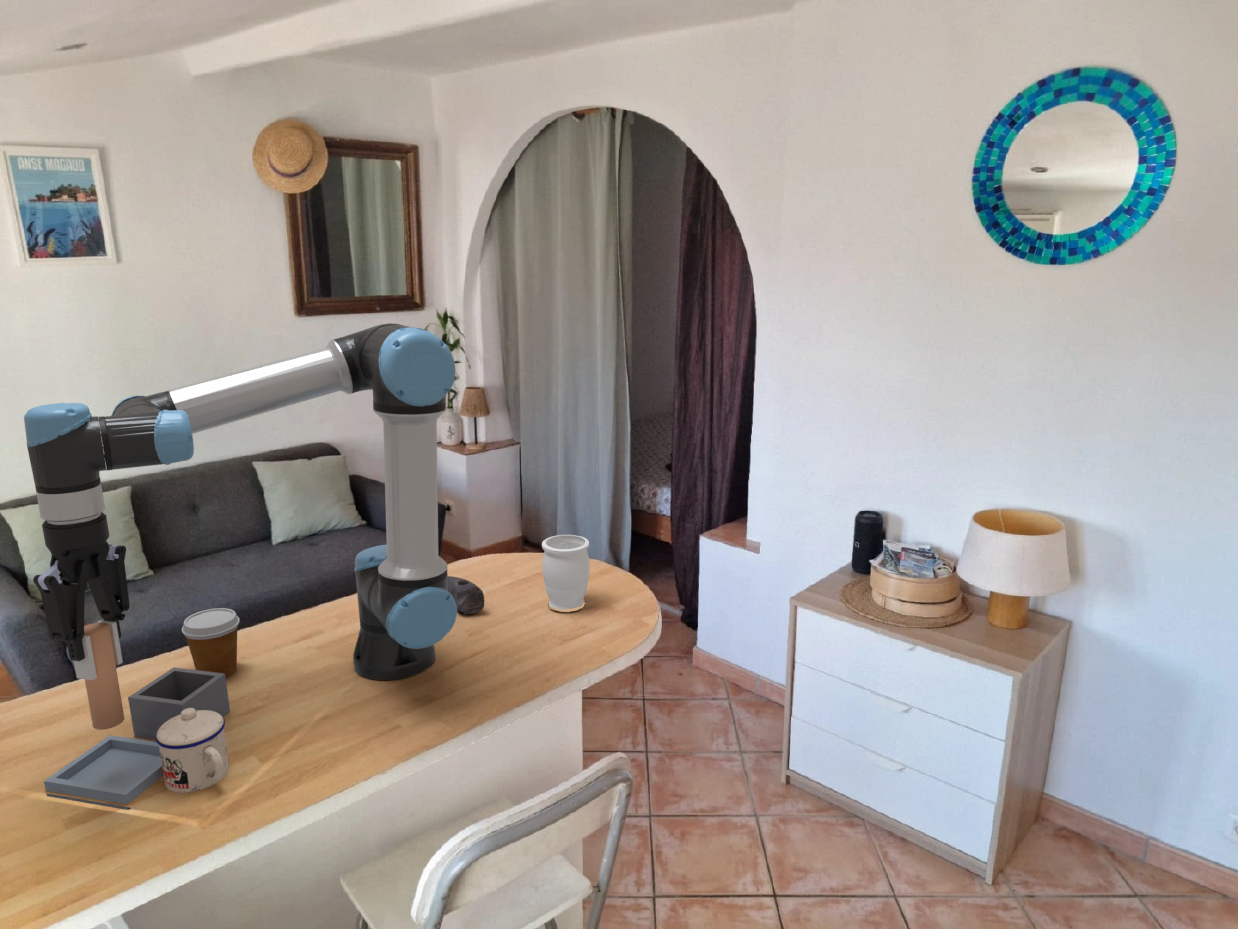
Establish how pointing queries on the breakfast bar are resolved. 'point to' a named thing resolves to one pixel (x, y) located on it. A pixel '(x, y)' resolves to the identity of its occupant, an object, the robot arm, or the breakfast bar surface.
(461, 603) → the perforated stone tool
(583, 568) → the jar
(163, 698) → the open square box
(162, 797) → the breakfast bar surface
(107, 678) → the dowel
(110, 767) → the tray
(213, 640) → the disposable coffee cup
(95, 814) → the breakfast bar surface
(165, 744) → the teacup with lid
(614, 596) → the breakfast bar surface
